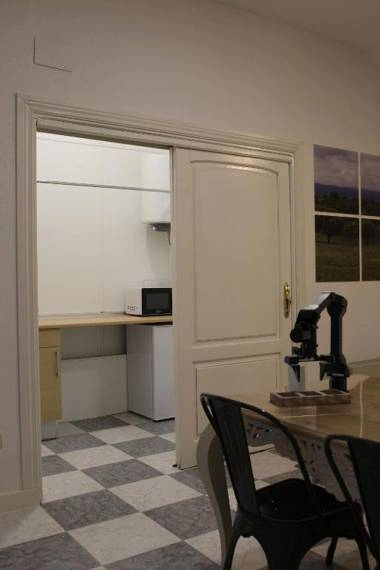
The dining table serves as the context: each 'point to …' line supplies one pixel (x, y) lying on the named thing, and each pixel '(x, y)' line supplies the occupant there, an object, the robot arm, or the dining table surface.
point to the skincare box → (293, 381)
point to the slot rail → (310, 397)
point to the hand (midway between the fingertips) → (309, 381)
